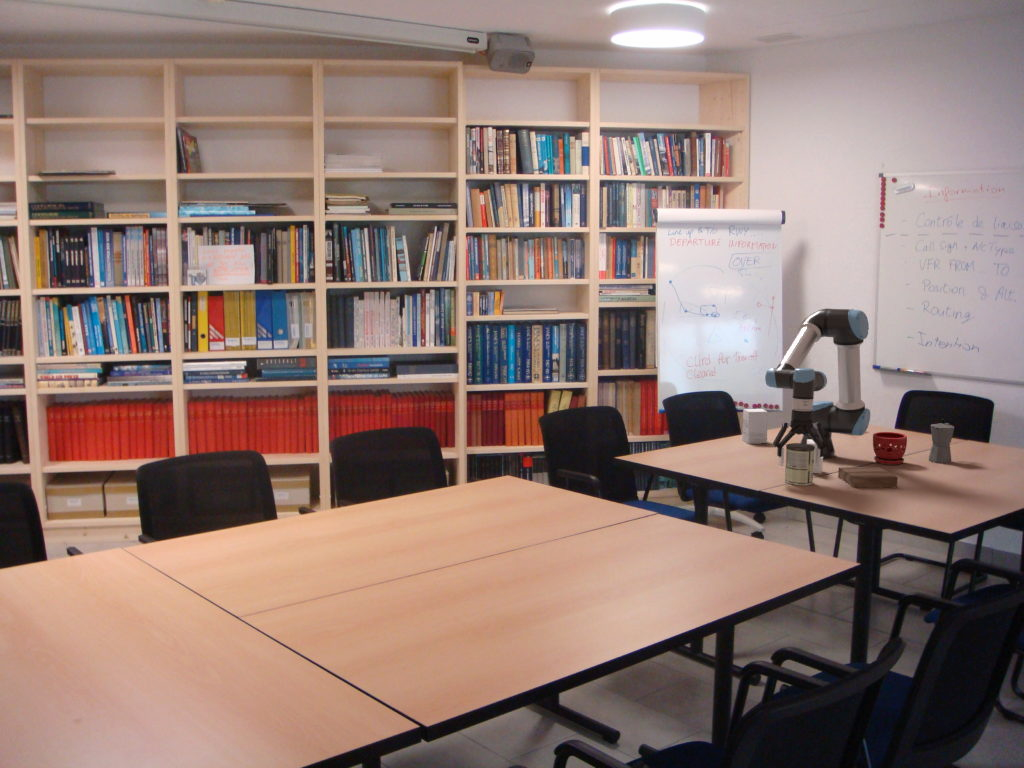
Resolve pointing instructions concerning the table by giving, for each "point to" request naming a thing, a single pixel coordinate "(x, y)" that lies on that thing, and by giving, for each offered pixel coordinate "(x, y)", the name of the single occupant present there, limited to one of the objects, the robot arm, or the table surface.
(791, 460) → the coffee can
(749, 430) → the supplement box
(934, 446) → the coffeepot
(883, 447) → the plant pot
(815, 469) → the base with upright slab
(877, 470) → the walnut plinth
